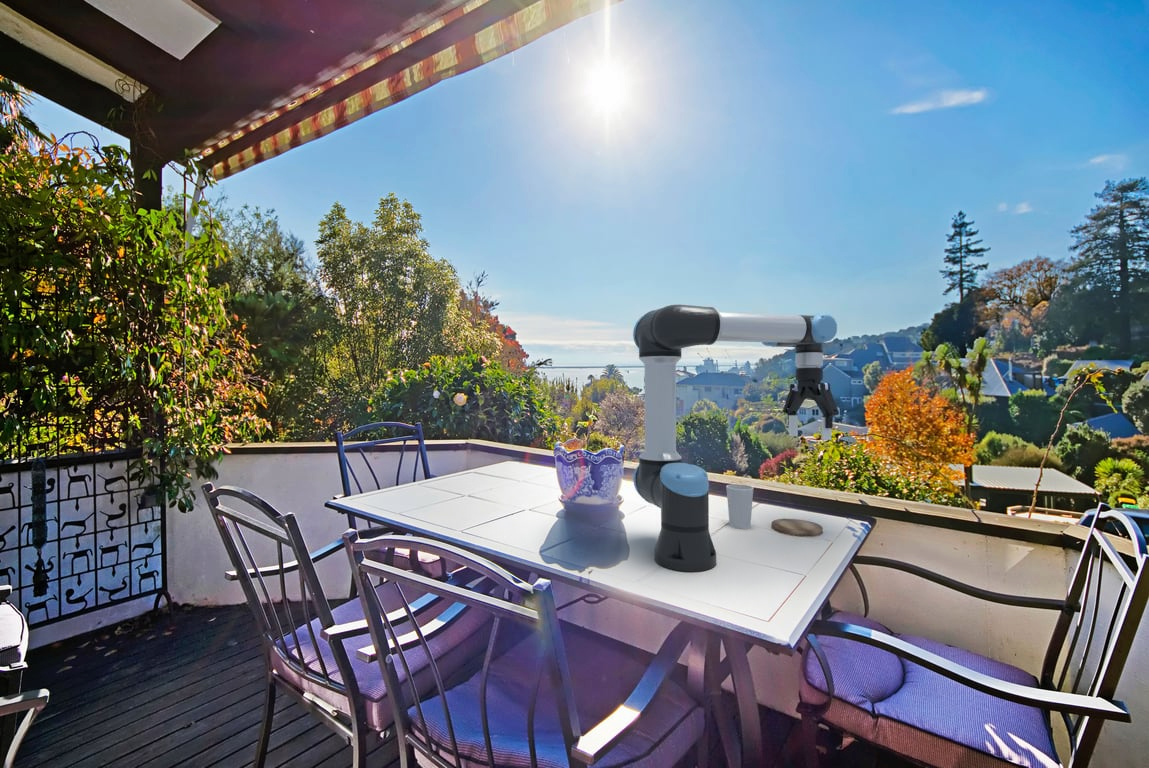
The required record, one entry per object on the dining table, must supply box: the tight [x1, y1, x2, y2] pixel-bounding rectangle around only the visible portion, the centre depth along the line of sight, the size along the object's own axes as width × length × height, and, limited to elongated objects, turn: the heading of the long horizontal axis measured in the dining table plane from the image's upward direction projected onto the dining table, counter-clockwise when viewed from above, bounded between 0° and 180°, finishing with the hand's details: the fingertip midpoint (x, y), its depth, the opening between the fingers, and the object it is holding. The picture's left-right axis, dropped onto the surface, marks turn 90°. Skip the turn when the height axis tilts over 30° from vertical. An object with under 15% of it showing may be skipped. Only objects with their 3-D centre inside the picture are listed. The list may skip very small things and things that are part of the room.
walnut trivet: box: [771, 518, 824, 537], centre depth 146 cm, size 14×14×1 cm
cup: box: [725, 483, 754, 529], centre depth 150 cm, size 8×8×12 cm
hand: (809, 438), depth 146 cm, fingers open, 13 cm apart
